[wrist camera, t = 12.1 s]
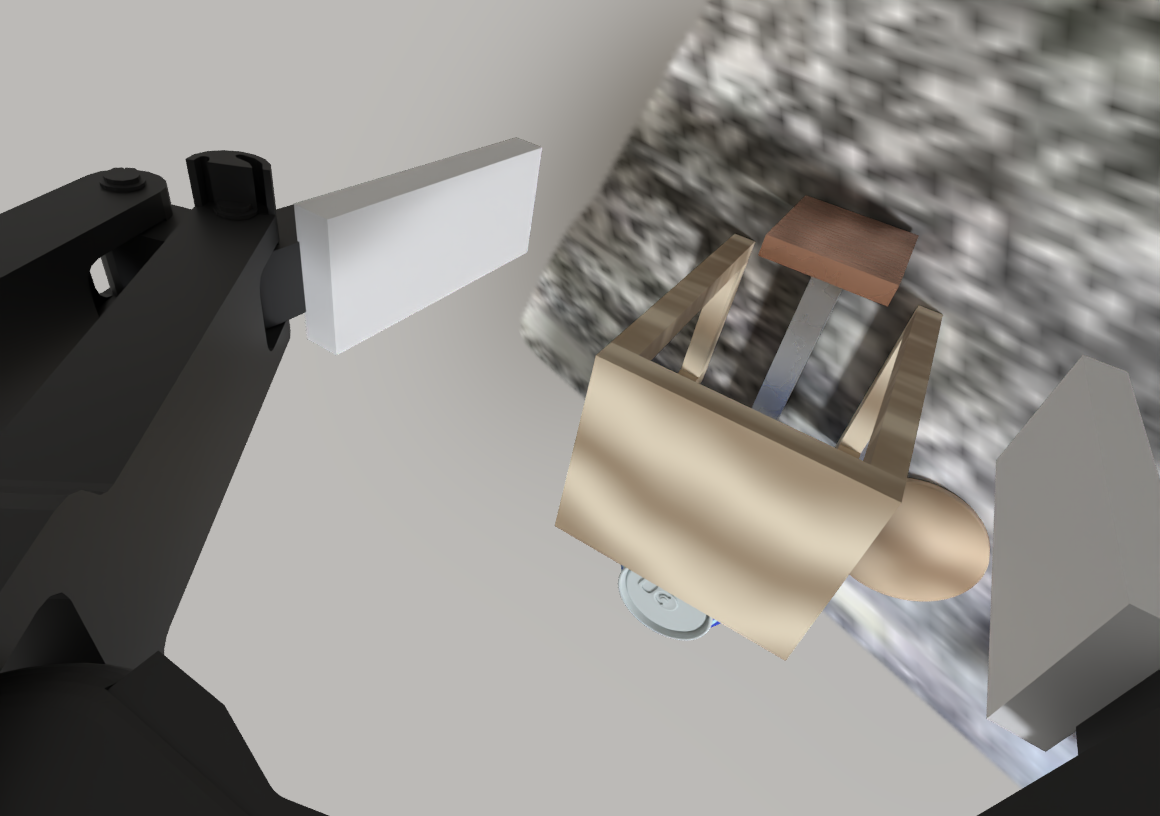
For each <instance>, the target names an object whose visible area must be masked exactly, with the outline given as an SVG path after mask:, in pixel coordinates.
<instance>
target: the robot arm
mask: <svg viewBox="0 0 1160 816" xmlns="http://www.w3.org/2000/svg"><path fill="white" fill-rule="evenodd" d="M541 153H542V147H540V146H537V145H535V144H532V143H530V142H527V141H524V140H522V139H519V138H512V139H509V140H506V141H503V142H499V143H496V144H492V145H489V146H486V147H482V148H479V149H476V150H472V151H469V152H465V153H462V154H459V155H455V156H452V157H449V158H445V159H442V160H439V161H435V162H432V163H428V164H425V165H422V166H418V167H415V168H412V169H408V170H405V171H402V172H398V173H395V174H392V175H388V176H385V177H381V178H378V179H375V180H372V181H368V182H365V183H361V184H358V185H355V186H351V187H348V188H345V189H341V190H338V191H334V192H331V193H328V194H325V195H321V196H318V197H315V198H311V199H308V200H305V201H301V202H298V203H295V204H293V205H290V206H287V207H283V208H280V209H277V210H276V205H275V197H274V188H273V180H272V171H271V164H270V163H268V162H267V161H266V160H265V159H263V158H261V157H259V156H256V155H253V154H249V153H244V152H239V151H225V150H222V151H207V152H202V153H198V154H194V155H192V156H190V157H188V158H187V159H186V164H187V169H188V174H189V179H190V183H191V189H192V194H193V198H194V204H195V207H194V208H193V209H192V210H191V209H187V208H184V207H180V206H175V205H171V202H170V197H169V192H168V188H167V183H166V181H165V180H164V179H163V178H162V177H160V176H159V175H156V174H153V173H150V172H145V171H139V170H136V169H135V168H125V169H124V168H113V169H111V170H108V171H100V172H97V173H94V174H90V175H87V176H85V177H82V178H80V179H78V180H76V181H73V182H71V183H69V184H67V185H65V186H62V187H60V188H58V189H56V190H53V191H51V192H49V193H46V194H44V195H42V196H40V197H37V198H35V199H33V200H31V201H28V202H26V203H24V204H22V205H19V206H17V207H15V208H13V209H11V210H8V211H6V212H4V213H1V214H0V816H328V815H326V814H323V813H321V812H318V811H315V810H313V809H311V808H308V807H305V806H303V805H300V804H298V803H295V802H293V801H290V800H287V799H285V798H283V797H281V796H280V795H278V794H277V793H276V792H275V791H274V790H273V789H272V787H271V786H270V784H269V783H268V781H267V779H266V777H265V776H264V774H263V772H262V770H261V769H260V767H259V766H258V763H257V762H256V760H255V758H254V756H253V755H252V753H251V751H250V749H249V748H248V746H247V744H246V742H245V740H244V739H243V737H242V735H241V733H240V732H239V730H238V728H237V726H236V725H235V723H234V721H233V719H232V718H231V716H230V714H229V713H228V711H227V709H226V707H225V705H223V704H222V703H221V702H220V701H218V700H217V699H216V698H215V697H214V696H213V695H211V694H210V693H209V692H208V691H207V690H205V689H204V688H203V687H202V686H201V685H199V684H198V683H197V682H196V681H195V680H193V679H192V678H191V677H190V676H188V675H187V674H186V673H185V672H184V671H182V670H181V669H180V668H179V667H178V666H176V665H175V664H174V663H173V662H172V661H170V660H169V659H168V658H167V657H166V656H164V646H165V642H166V636H167V634H168V631H169V627H170V625H171V622H172V620H173V618H174V615H175V613H176V610H177V608H178V606H179V603H180V601H181V598H182V596H183V594H184V591H185V589H186V586H187V584H188V581H189V579H190V577H191V575H192V572H193V570H194V567H195V565H196V562H197V560H198V558H199V555H200V553H201V551H202V548H203V546H204V543H205V541H206V539H207V536H208V534H209V531H210V529H211V526H212V524H213V522H214V519H215V517H216V514H217V512H218V509H219V507H220V505H221V503H222V500H223V498H224V495H225V493H226V491H227V488H228V486H229V483H230V481H231V479H232V476H233V474H234V471H235V469H236V467H237V464H238V462H239V459H240V457H241V454H242V452H243V450H244V447H245V445H246V443H247V440H248V438H249V435H250V433H251V431H252V428H253V425H254V423H255V421H256V418H257V416H258V414H259V411H260V409H261V407H262V404H263V402H264V399H265V397H266V394H267V392H268V390H269V387H270V384H271V382H272V380H273V378H274V375H275V373H276V370H277V368H278V366H279V363H280V361H281V359H282V356H283V353H284V351H285V349H286V347H287V344H288V342H289V339H290V324H289V319H292V318H294V317H296V316H298V315H300V314H303V313H305V321H306V331H307V339H308V340H310V341H312V342H313V343H316V344H317V345H319V346H321V347H322V348H324V349H326V350H328V351H329V352H331V353H333V354H335V355H338V354H340V353H342V352H344V351H345V350H347V349H349V348H351V347H353V346H355V345H357V344H358V343H360V342H362V341H364V340H366V339H367V338H369V337H371V336H373V335H375V334H377V333H379V332H381V331H382V330H384V329H386V328H388V327H390V326H392V325H394V324H395V323H397V322H399V321H401V320H403V319H404V318H406V317H408V316H410V315H412V314H413V313H416V312H418V311H419V310H421V309H423V308H425V307H427V306H429V305H431V304H432V303H434V302H436V301H438V300H440V299H442V298H443V297H445V296H447V295H449V294H451V293H453V292H454V291H456V290H458V289H460V288H462V287H464V286H466V285H468V284H469V283H471V282H473V281H475V280H477V279H479V278H480V277H482V276H484V275H486V274H488V273H490V272H492V271H493V270H495V269H497V268H499V267H501V266H502V265H505V264H506V263H508V262H510V261H512V260H514V259H515V258H517V257H519V256H521V255H523V254H525V253H527V252H528V245H529V237H530V231H531V223H532V217H533V210H534V202H535V196H536V189H537V182H538V175H539V168H540V161H541ZM100 257H101V259H102V263H103V266H104V269H105V272H106V276H107V279H108V282H109V285H110V288H109V289H107V290H106V291H104V292H103V293H100V294H99V293H98V291H97V290H96V288H95V286H94V283H93V279H92V276H91V274H90V269H91V266H92V265H93V264H94V263H95V261H96V260H97V259H98V258H100ZM986 719H988V720H990V721H991V722H993V723H995V724H997V725H999V726H1000V727H1002V728H1004V729H1006V730H1007V731H1009V732H1011V733H1013V734H1015V735H1016V736H1018V737H1020V738H1022V739H1024V740H1025V741H1027V742H1029V743H1031V744H1033V745H1034V746H1036V747H1038V748H1040V749H1041V750H1043V751H1045V752H1046V751H1048V750H1049V749H1051V748H1052V747H1053V746H1055V745H1056V744H1058V743H1059V742H1061V741H1062V740H1064V739H1065V738H1067V737H1068V736H1070V735H1071V734H1073V733H1074V732H1075V731H1076V735H1077V747H1078V756H1076V757H1075V758H1073V759H1071V760H1070V761H1068V762H1066V763H1065V764H1063V765H1061V766H1060V767H1058V768H1056V769H1055V770H1053V771H1051V772H1050V773H1048V774H1046V775H1045V776H1043V777H1041V778H1039V779H1038V780H1036V781H1034V782H1033V783H1031V784H1029V785H1028V786H1026V787H1024V788H1023V789H1021V790H1019V791H1018V792H1016V793H1014V794H1013V795H1011V796H1009V797H1008V798H1006V799H1004V800H1003V801H1001V802H999V803H998V804H996V805H994V806H993V807H991V808H989V809H988V810H986V811H984V812H983V813H981V814H979V815H977V816H1160V478H1159V475H1158V472H1157V468H1156V465H1155V462H1154V458H1153V455H1152V452H1151V448H1150V445H1149V441H1148V438H1147V435H1146V431H1145V428H1144V425H1143V421H1142V418H1141V414H1140V411H1139V408H1138V404H1137V401H1136V398H1135V394H1134V391H1133V388H1132V384H1131V381H1130V377H1129V374H1128V372H1126V371H1123V370H1121V369H1118V368H1116V367H1113V366H1110V365H1108V364H1105V363H1103V362H1100V361H1097V360H1095V359H1092V358H1090V357H1087V356H1084V355H1082V356H1081V358H1080V359H1079V360H1078V361H1077V362H1076V364H1075V365H1074V366H1073V367H1072V369H1071V370H1070V371H1069V372H1068V373H1067V375H1066V376H1065V377H1064V378H1063V380H1062V381H1061V382H1060V383H1059V384H1058V386H1057V387H1056V388H1055V389H1054V391H1053V392H1052V393H1051V394H1050V395H1049V397H1048V398H1047V399H1046V400H1045V402H1044V403H1043V404H1042V405H1041V406H1040V408H1039V409H1038V410H1037V411H1036V412H1035V414H1034V415H1033V416H1032V417H1031V419H1030V420H1029V421H1028V422H1027V423H1026V425H1025V426H1024V427H1023V428H1022V430H1021V431H1020V432H1019V433H1018V434H1017V436H1016V437H1015V438H1014V439H1013V441H1012V442H1011V443H1010V444H1009V445H1008V447H1007V448H1006V449H1005V450H1004V452H1003V453H1002V454H1001V455H1000V456H999V458H998V459H997V460H996V481H995V507H994V533H993V560H992V586H991V613H990V639H989V666H988V692H987V718H986Z"/></svg>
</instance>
